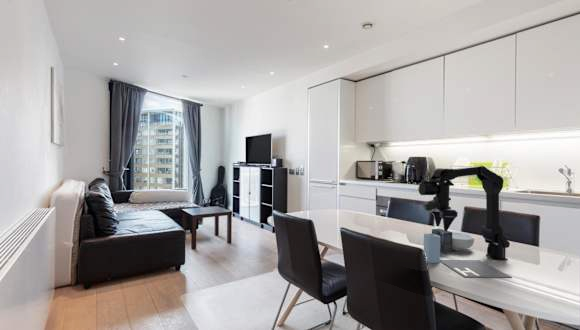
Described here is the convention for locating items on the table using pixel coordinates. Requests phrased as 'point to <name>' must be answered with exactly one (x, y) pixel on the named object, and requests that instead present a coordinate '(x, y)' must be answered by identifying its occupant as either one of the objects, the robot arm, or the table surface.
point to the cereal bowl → (461, 241)
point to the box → (444, 240)
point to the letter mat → (474, 269)
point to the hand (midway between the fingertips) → (441, 228)
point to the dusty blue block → (432, 248)
